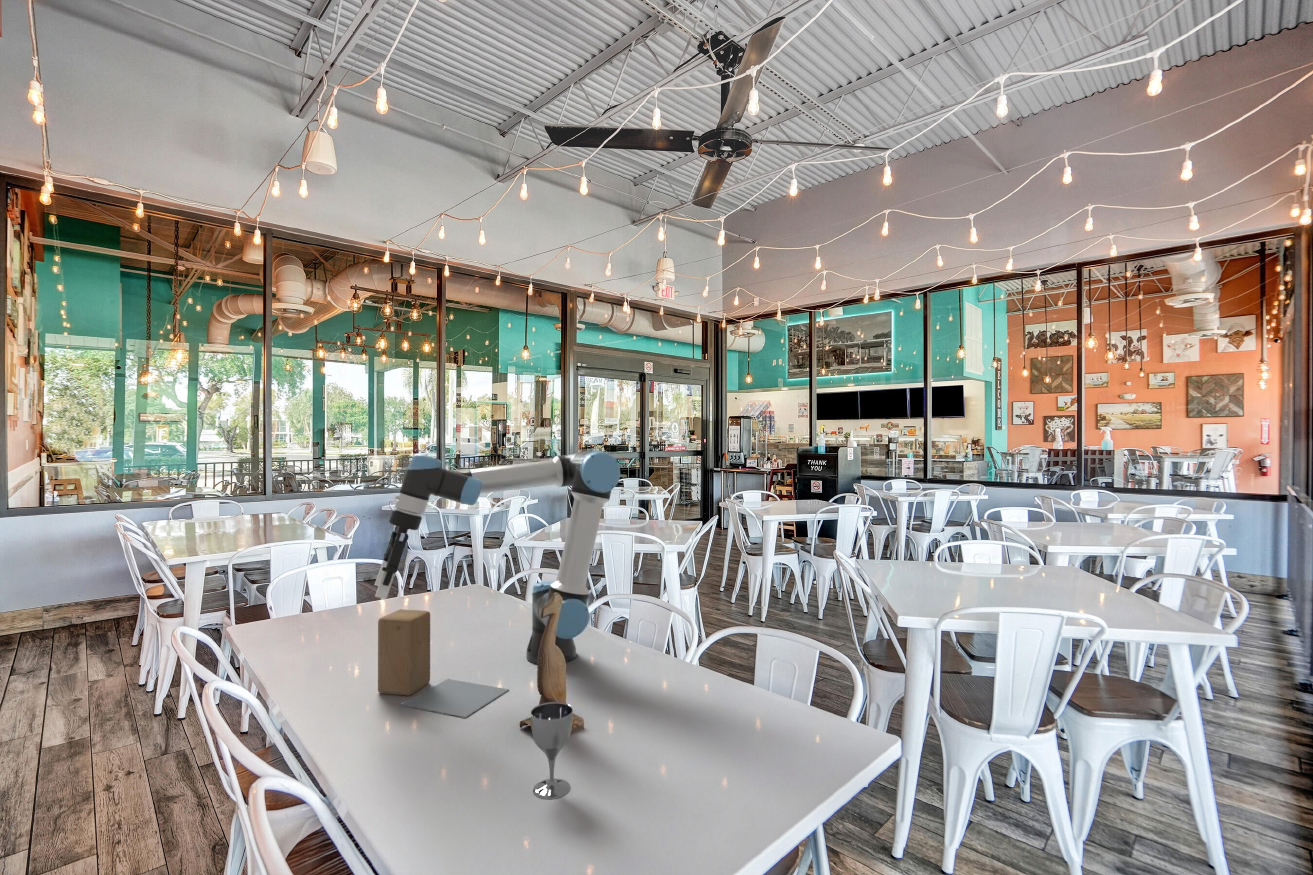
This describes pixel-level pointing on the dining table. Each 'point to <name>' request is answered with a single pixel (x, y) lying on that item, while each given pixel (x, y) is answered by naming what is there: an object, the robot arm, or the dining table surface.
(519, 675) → the dining table surface
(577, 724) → the bird sculpture
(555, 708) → the wine glass
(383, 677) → the wooden block
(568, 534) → the robot arm
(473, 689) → the mat
